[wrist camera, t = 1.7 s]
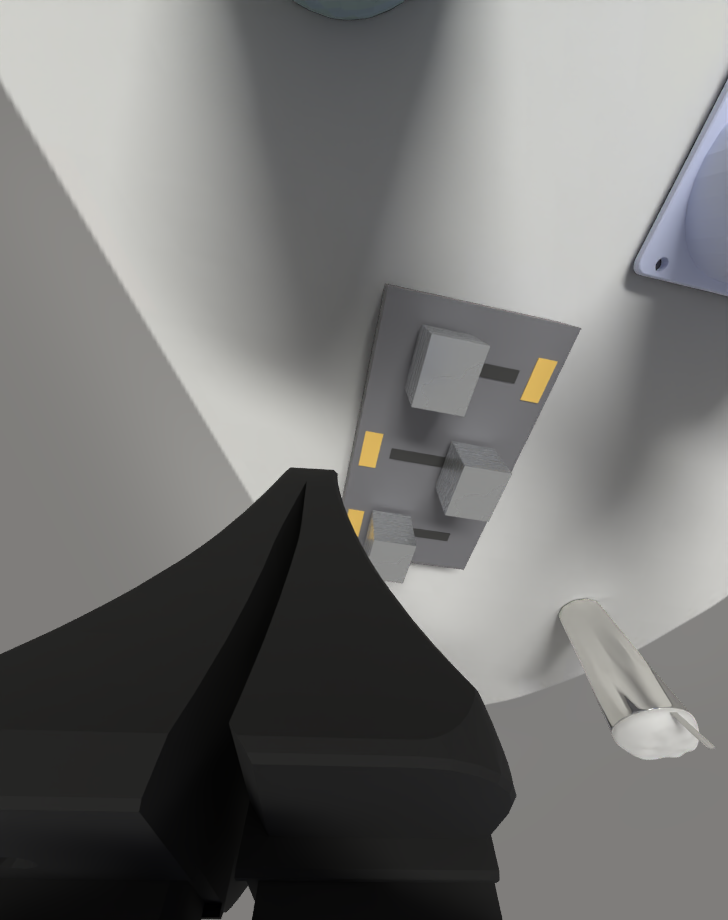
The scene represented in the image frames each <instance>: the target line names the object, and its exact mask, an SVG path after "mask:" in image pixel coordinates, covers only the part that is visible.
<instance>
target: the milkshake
mask: <svg viewBox="0 0 728 920" xmlns="http://www.w3.org/2000/svg"><path fill="white" fill-rule="evenodd" d="M558 616H559V619H560V621H561V623H562V625H563V627H564V629H565V631H566V633H567V635H568V638H569V640H570V642H571V644H572V646H573V648H574V650H575V652H576V654H577V657H578V659H579V661H580V663H581V665H582V667H583V669H584V671H585V674H586V676H587V678H588V680H589V682H590V685H591V687H592V690H593V692H594V695H595V697H596V699H597V702H598V704H599V706H600V708H601V711H602V713H603V715H604V718H605V720H606V722H607V724H608V727H609V729H610V731H611V733H612V736H613V739H614V741H615V742H616V743H617V744H618V745H619V746H620V747H621V748H623V749H624V750H626V751H627V752H629V753H631V754H632V755H634V756H636V757H638V758H641V759H645V760H653V759H659V758H663V757H680V756H681V755H683V754H684V753H685V752H689V751H693V750H694V749H695V748H696V747H697V745H698V741H700V742H701V743H702V744H704V746H706V747H707V748H708V749H716V747H714V746H713V745H712V744H711V743H710V742H709V741H708V740H707V739H706V738H705V737H703V736H702V735H701V734H700V733H699V730H698V726H697V722H696V720H695V718H694V717H693V716H692V715H691V713H690V712H689V711H688V710H687V709H686V708H685V707H684V705H683V704H682V703H681V702H680V701H679V699H678V698H677V697H676V696H675V695H674V693H673V692H672V691H671V690H670V689H669V688H668V686H667V685H666V684H665V683H664V682H663V680H662V679H661V678H660V677H659V676H658V675H657V673H656V672H655V671H654V670H653V669H652V668H651V666H650V665H649V664H648V663H647V662H646V660H645V659H644V658H643V657H642V656H641V654H640V653H639V652H638V651H637V649H636V648H635V647H634V646H633V644H632V643H631V642H630V641H629V639H628V638H627V637H626V636H625V635H624V633H623V632H622V631H621V630H620V628H619V627H618V626H617V625H616V623H615V622H614V621H613V620H612V619H611V617H610V616H609V615H608V614H607V612H606V611H605V610H604V609H603V607H602V606H601V605H600V604H599V603H598V602H597V601H593V600H590V599H581V600H575V601H572V602H571V603H569V604H567V605H565V606H564V607H562V609H561V611H560V613H559V615H558Z"/></svg>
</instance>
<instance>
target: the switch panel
mask: <svg viewBox="0 0 728 920" xmlns="http://www.w3.org/2000/svg"><path fill="white" fill-rule="evenodd" d="M421 324H425V325H429V326H434V327H439V328H444V329H449V330H453V331H458V332H463V333H468V334H472V335H473V336H475V337H477V338H478V339H480V340H481V341H483V342H485V343H486V344H488V345H489V346H490V348H489V351H488V354H487V356H486V359H485V362H484V364H483V367H482V370H481V373H480V375H479V378H478V381H477V383H476V386H475V389H474V392H473V394H472V397H471V400H470V402H469V405H468V408H467V411H466V413H465V416H464V417H463V416H458V415H452V414H447V413H441V412H436V411H431V410H425V409H420V408H414V407H411V404H410V402H409V399H408V396H407V393H406V390H405V385H406V381H407V377H408V373H409V370H410V366H411V362H412V358H413V354H414V350H415V347H416V343H417V339H418V335H419V331H420V328H421ZM580 330H581V328H579V327H575V326H571V325H568V324H564V323H561V322H557V321H553V320H548V319H544V318H539V317H535V316H530V315H525V314H521V313H516V312H512V311H507V310H503V309H498V308H494V307H489V306H485V305H480V304H476V303H471V302H467V301H462V300H457V299H453V298H448V297H444V296H439V295H435V294H430V293H426V292H421V291H417V290H412V289H408V288H403V287H398V286H394V285H389V284H385V288H384V293H383V298H382V303H381V308H380V313H379V318H378V323H377V328H376V333H375V338H374V343H373V348H372V353H371V358H370V363H369V368H368V373H367V378H366V383H365V388H364V393H363V398H362V403H361V408H360V413H359V418H358V423H357V428H356V433H355V438H354V443H353V448H352V453H351V458H350V463H349V468H348V473H347V478H346V483H345V488H344V493H343V498H342V501H343V504H344V507H345V509H346V512H347V515H348V517H349V520H350V522H351V524H352V526H353V529H354V531H355V533H356V535H357V537H358V539H359V541H360V543H361V545H362V547H363V545H364V542H365V538H366V534H367V530H368V526H369V522H370V519H371V515H372V511H373V510H375V511H382V512H388V513H395V514H402V515H408V516H411V521H412V526H413V531H414V536H415V541H416V549H415V552H414V554H413V557H412V560H411V562H412V563H419V564H426V565H434V566H441V567H448V568H456V569H463V570H464V568H465V566H466V564H467V562H468V560H469V558H470V556H471V554H472V552H473V550H474V548H475V546H476V544H477V541H478V539H479V537H480V535H481V533H482V531H483V529H484V527H485V525H486V523H487V522H486V521H480V520H473V519H467V518H460V517H454V516H447V515H445V514H444V511H443V508H442V505H441V502H440V499H439V496H438V493H437V490H436V487H435V486H436V484H437V481H438V478H439V475H440V473H441V470H442V467H443V464H444V462H445V459H446V456H447V453H448V451H449V448H450V445H451V442H452V441H454V442H460V443H466V444H471V445H477V446H483V447H488V448H494V450H495V451H496V453H497V454H498V455H499V457H500V458H501V459H502V461H503V462H504V464H505V465H506V466H507V468H508V469H509V471H510V472H512V470H513V467H514V465H515V463H516V461H517V459H518V457H519V455H520V453H521V451H522V449H523V447H524V445H525V443H526V441H527V439H528V437H529V435H530V433H531V430H532V428H533V426H534V424H535V422H536V420H537V418H538V416H539V414H540V412H541V410H542V408H543V406H544V404H545V402H546V400H547V398H548V396H549V393H550V391H551V389H552V387H553V385H554V383H555V381H556V379H557V377H558V375H559V373H560V371H561V369H562V367H563V365H564V363H565V361H566V359H567V356H568V354H569V352H570V350H571V348H572V346H573V344H574V342H575V340H576V338H577V336H578V334H579V332H580Z"/></svg>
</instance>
